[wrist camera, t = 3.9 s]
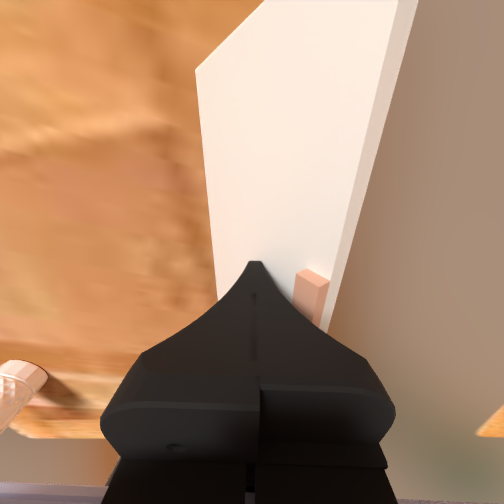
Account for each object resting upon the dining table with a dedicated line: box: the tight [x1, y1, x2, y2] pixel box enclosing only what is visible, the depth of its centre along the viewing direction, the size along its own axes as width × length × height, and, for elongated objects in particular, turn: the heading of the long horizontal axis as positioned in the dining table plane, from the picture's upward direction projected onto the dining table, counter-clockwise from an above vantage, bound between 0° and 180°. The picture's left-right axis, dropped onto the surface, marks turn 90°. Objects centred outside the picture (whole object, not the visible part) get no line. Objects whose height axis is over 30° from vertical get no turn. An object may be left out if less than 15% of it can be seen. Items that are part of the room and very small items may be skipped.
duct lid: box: [195, 0, 419, 334], centre depth 11 cm, size 20×10×1 cm
